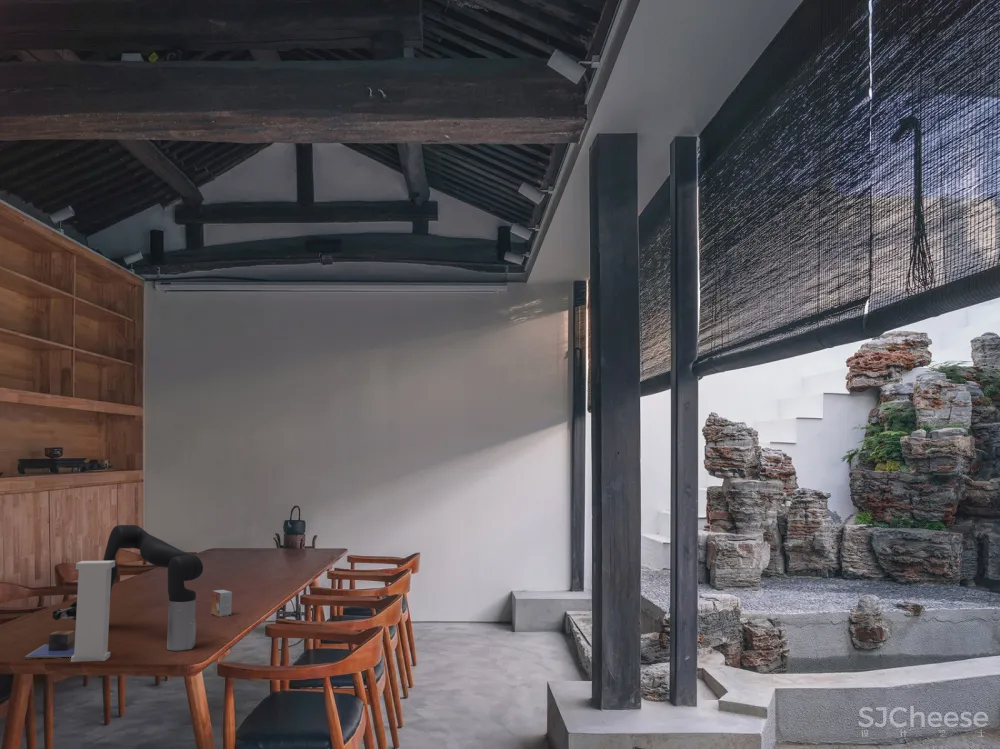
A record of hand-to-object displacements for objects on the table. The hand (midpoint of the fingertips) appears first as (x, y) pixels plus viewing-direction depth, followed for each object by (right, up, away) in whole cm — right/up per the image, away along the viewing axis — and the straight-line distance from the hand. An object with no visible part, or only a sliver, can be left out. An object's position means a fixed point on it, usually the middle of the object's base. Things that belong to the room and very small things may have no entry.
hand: (68, 617), depth 305 cm
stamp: (+2, -9, -4) cm, 10 cm away
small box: (+37, -17, +58) cm, 71 cm away
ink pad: (+2, -10, -10) cm, 14 cm away
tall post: (+17, -9, -19) cm, 27 cm away
